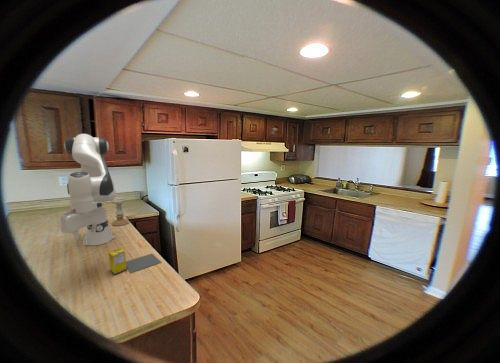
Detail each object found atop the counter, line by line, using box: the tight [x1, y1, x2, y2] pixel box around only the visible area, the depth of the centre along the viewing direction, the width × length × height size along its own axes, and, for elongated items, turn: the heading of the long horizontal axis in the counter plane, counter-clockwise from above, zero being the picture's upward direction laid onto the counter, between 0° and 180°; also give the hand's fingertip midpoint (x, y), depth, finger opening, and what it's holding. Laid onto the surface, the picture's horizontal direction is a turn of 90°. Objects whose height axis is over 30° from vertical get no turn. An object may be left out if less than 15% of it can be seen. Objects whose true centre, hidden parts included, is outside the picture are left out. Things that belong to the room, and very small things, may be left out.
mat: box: [126, 253, 162, 274], centre depth 126 cm, size 14×16×1 cm
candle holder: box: [110, 199, 129, 227], centre depth 187 cm, size 12×12×20 cm
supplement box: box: [108, 248, 127, 276], centre depth 117 cm, size 6×6×11 cm
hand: (85, 235), depth 106 cm, fingers open, 7 cm apart
